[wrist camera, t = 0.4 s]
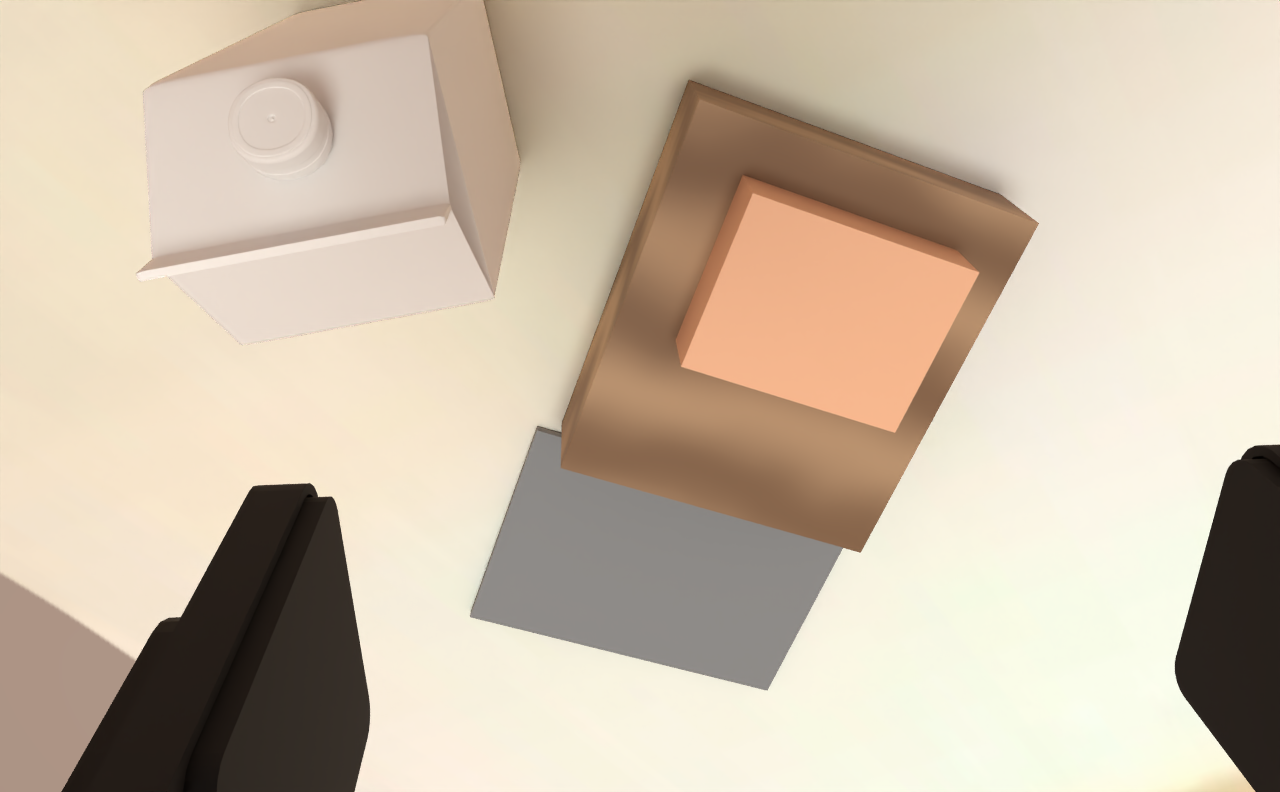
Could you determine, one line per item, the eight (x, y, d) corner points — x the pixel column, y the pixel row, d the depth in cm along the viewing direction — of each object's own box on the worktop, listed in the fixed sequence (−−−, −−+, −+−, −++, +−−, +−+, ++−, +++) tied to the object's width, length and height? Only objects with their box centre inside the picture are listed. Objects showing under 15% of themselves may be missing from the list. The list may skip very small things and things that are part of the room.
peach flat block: (742, 174, 38) (752, 193, 36) (957, 250, 40) (979, 272, 38) (675, 339, 41) (681, 366, 39) (878, 403, 43) (895, 433, 41)
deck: (688, 79, 40) (699, 99, 37) (1000, 194, 43) (1038, 223, 40) (562, 423, 47) (560, 468, 43) (840, 504, 50) (860, 552, 46)
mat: (537, 426, 47) (537, 430, 47) (854, 517, 50) (856, 522, 50) (470, 611, 51) (470, 617, 51) (765, 685, 55) (767, 690, 54)
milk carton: (522, 164, 42) (483, 361, 25) (349, 196, 42) (193, 414, 25) (479, -23, 38) (401, 56, 22) (292, 13, 39) (69, 120, 22)
